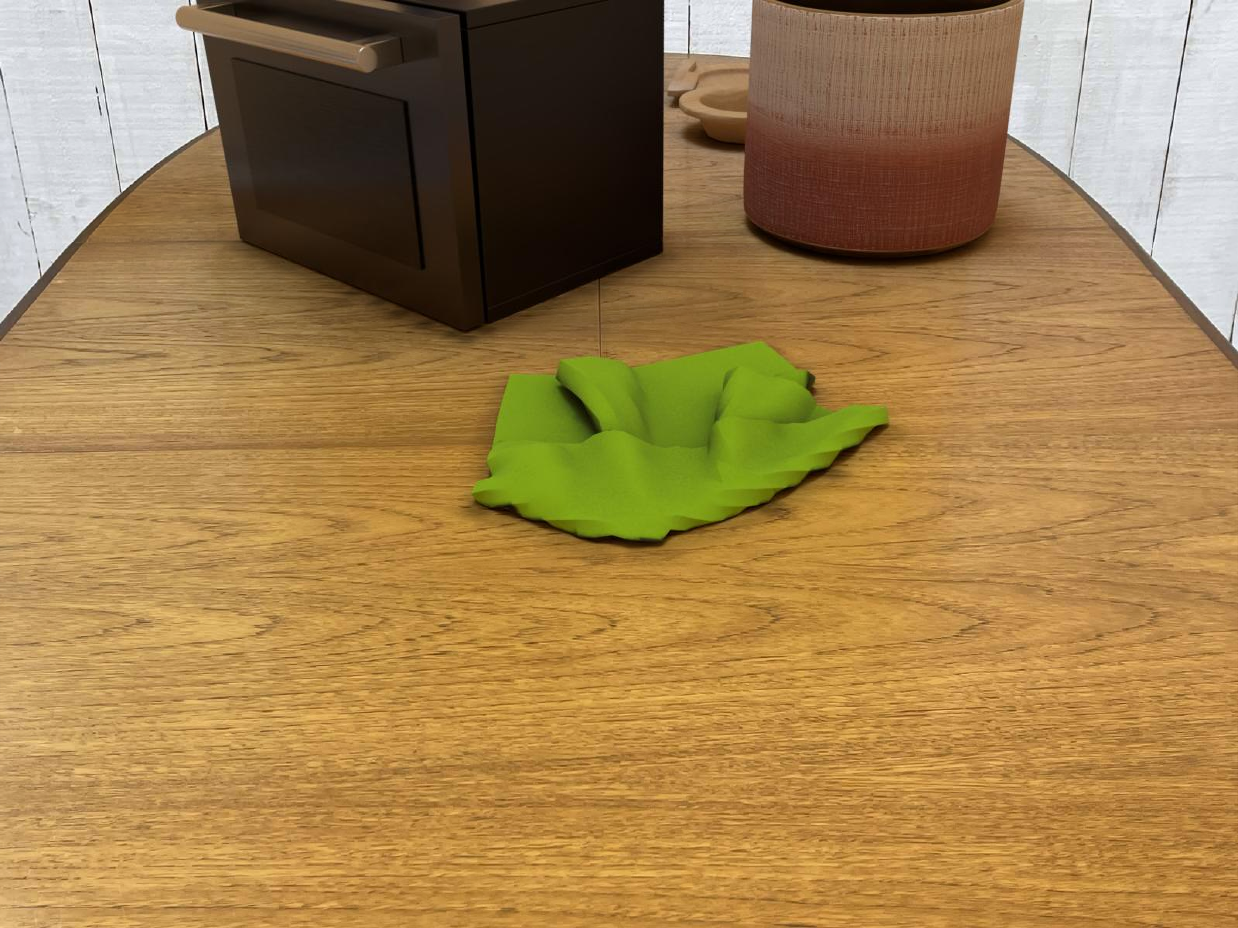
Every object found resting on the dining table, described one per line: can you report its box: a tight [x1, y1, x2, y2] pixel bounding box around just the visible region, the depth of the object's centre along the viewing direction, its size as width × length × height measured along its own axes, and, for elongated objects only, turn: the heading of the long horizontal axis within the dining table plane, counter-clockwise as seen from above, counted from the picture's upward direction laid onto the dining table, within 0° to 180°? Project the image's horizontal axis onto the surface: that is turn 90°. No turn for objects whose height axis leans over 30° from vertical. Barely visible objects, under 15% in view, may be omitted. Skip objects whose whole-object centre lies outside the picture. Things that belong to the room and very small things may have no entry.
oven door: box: [174, 0, 486, 331], centre depth 76 cm, size 5×24×18 cm, turn 47°
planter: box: [742, 0, 1026, 259], centre depth 86 cm, size 18×18×16 cm
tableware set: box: [666, 58, 750, 145], centre depth 116 cm, size 35×29×4 cm
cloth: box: [470, 340, 890, 542], centre depth 63 cm, size 20×22×2 cm
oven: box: [382, 0, 665, 324], centre depth 83 cm, size 16×24×18 cm, turn 47°
